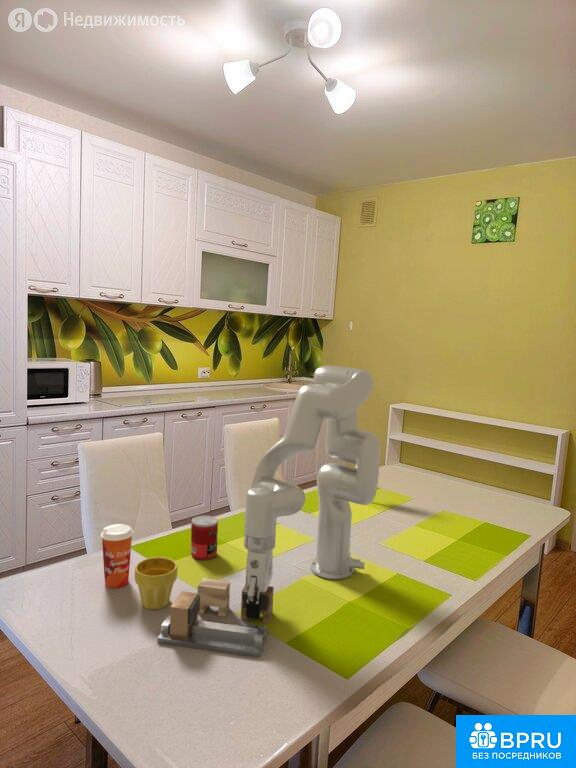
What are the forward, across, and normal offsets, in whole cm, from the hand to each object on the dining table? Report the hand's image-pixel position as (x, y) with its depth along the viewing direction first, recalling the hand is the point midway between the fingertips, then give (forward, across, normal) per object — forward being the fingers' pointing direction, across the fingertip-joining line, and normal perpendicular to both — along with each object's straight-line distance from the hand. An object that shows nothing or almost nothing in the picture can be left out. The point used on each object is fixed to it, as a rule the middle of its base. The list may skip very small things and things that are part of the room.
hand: (256, 608), depth 130 cm
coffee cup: (+2, +7, +40) cm, 41 cm away
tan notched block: (+2, 0, +11) cm, 11 cm away
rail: (+2, -11, +8) cm, 13 cm away
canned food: (+2, +29, +23) cm, 37 cm away
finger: (+2, 0, 0) cm, 2 cm away
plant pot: (+2, 0, +26) cm, 26 cm away
